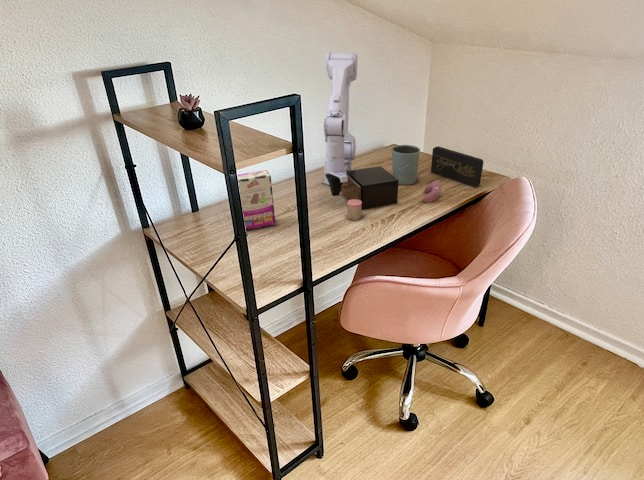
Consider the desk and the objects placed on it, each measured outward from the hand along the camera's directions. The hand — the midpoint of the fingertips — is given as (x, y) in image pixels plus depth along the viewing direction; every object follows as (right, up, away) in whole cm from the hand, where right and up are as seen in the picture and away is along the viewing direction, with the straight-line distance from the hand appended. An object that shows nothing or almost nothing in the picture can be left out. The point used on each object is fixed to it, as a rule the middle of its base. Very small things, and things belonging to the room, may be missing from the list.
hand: (335, 195), depth 163 cm
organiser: (+12, 0, +6) cm, 13 cm away
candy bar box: (-24, -11, -11) cm, 29 cm away
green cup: (+25, +8, +20) cm, 33 cm away
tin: (+6, -8, -6) cm, 12 cm away
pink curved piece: (+33, 0, +7) cm, 34 cm away
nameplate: (+44, +9, +21) cm, 49 cm away
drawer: (+9, -1, +5) cm, 10 cm away
